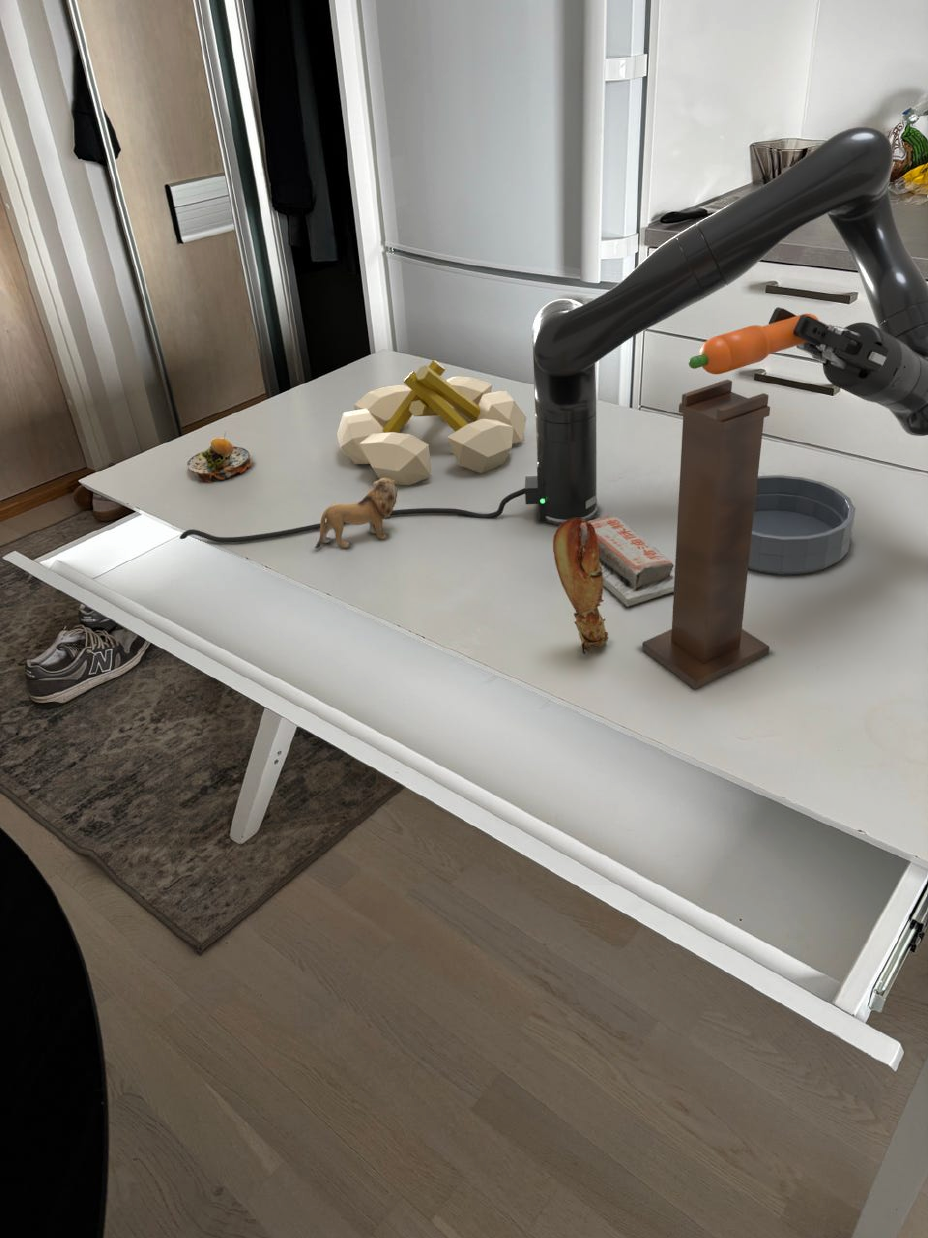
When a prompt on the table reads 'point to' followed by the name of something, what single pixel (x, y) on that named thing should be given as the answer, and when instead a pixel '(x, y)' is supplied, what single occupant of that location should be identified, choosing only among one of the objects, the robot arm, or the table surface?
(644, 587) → the packaged product
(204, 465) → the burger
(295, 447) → the table surface
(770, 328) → the carrot
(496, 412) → the campfire
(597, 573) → the crab claw
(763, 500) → the bowl
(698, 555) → the stand
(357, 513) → the lion figurine
